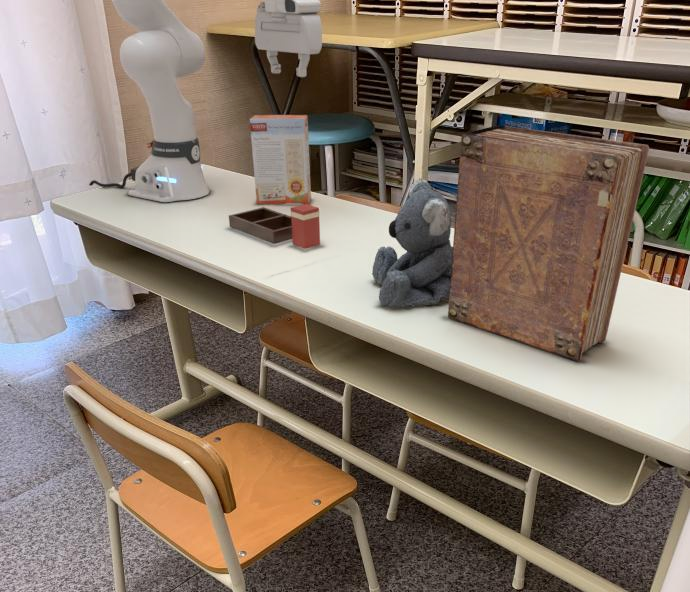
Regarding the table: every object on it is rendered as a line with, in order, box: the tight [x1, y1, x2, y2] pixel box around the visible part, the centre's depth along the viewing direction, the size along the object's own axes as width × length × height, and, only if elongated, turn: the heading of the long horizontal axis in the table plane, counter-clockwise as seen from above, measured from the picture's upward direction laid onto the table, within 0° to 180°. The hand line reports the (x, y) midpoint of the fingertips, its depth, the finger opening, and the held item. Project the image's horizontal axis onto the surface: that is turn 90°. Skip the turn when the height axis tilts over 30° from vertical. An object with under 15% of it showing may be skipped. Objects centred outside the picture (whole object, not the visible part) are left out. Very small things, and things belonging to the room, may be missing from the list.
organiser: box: [228, 206, 292, 245], centre depth 162 cm, size 18×10×3 cm, turn 42°
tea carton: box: [290, 204, 321, 249], centre depth 152 cm, size 4×4×8 cm
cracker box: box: [249, 114, 312, 205], centre depth 179 cm, size 14×6×21 cm, turn 84°
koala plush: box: [371, 177, 453, 309], centre depth 126 cm, size 17×18×20 cm
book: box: [447, 124, 650, 363], centre depth 109 cm, size 25×9×30 cm, turn 47°
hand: (288, 75), depth 157 cm, fingers open, 8 cm apart
